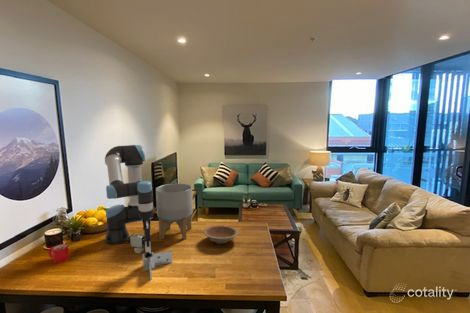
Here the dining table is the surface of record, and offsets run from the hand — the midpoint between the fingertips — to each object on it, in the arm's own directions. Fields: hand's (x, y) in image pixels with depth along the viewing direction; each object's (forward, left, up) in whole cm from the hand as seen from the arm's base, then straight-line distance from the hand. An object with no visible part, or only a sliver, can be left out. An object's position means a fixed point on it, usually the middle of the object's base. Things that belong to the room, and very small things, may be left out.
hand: (148, 250), depth 145 cm
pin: (0, 0, -4) cm, 4 cm away
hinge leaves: (+5, +5, -10) cm, 12 cm away
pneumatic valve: (-20, -4, -10) cm, 23 cm away
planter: (-37, +22, -11) cm, 44 cm away
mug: (-30, -49, -11) cm, 58 cm away
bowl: (-13, +48, -11) cm, 51 cm away
